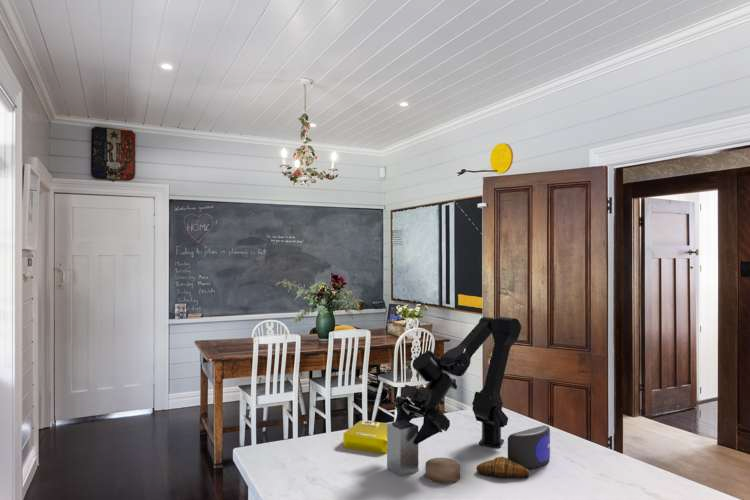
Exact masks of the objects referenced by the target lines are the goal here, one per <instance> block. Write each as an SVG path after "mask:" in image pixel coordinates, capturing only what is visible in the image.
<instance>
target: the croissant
mask: <svg viewBox="0 0 750 500" xmlns="http://www.w3.org/2000/svg"><path fill="white" fill-rule="evenodd" d="M475 469H476V470H475V471H476V473H478V474H479V475H480V474H481V475H484V476H489V477H491V476H492V477H497V478H502V479H503V478H504V479H505V478H508V479H509V478H511V479H512V478H514V479H515V478H516V479H521V478H522V479H523V478H528V477H529V476H530V469H527V468H525V467H524V466H522V465H520V464H518V463H516V462H513V461H511V460H510V459H508V457H504V456H496V457H495V458H493V459H490V460H486V461H483V462H481V463H479V464H477V465H476V468H475Z"/></svg>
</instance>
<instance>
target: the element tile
mask: <svg viewBox="0 0 750 500" xmlns="http://www.w3.org/2000/svg"><path fill="white" fill-rule="evenodd" d="M387 424H389V423H387V422H380V421H374V420H373V421H372V420H363V419H362V420H359V421H358V422H356V423H355V424H353V425H352V426H351V427H350V428H348V429H347V430H345V431H344V432H343V438H342V439H343V440H342V441H343V442H342V443H343V448H345V449H350V450H355V451H356V450H357V451H364V452H369V453H376V454H386V455H387Z"/></svg>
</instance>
